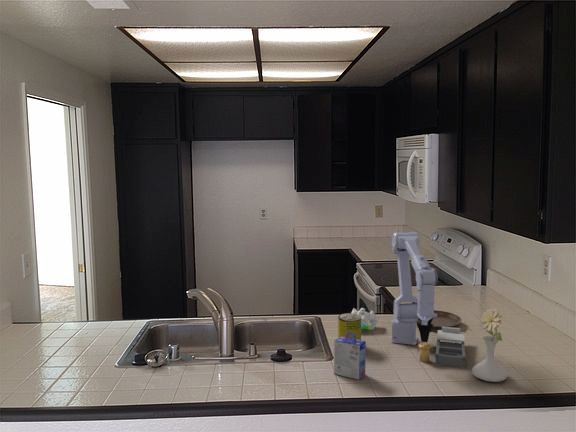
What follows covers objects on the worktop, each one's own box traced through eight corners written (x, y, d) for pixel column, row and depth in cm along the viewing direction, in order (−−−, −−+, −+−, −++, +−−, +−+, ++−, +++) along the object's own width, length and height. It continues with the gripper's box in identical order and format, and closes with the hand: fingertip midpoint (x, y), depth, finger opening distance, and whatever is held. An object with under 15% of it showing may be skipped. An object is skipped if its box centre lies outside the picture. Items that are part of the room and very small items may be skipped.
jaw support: (343, 324, 219) (348, 305, 224) (347, 334, 225) (352, 315, 231) (371, 328, 214) (375, 308, 220) (374, 338, 221) (378, 318, 226)
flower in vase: (467, 370, 180) (469, 301, 177) (499, 370, 180) (503, 301, 177) (479, 387, 167) (482, 313, 164) (515, 387, 167) (518, 313, 164)
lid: (437, 339, 199) (437, 334, 199) (437, 331, 208) (438, 326, 208) (464, 342, 196) (464, 336, 196) (463, 333, 205) (464, 328, 205)
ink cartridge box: (366, 374, 178) (366, 334, 176) (359, 380, 173) (360, 339, 172) (340, 368, 183) (340, 329, 181) (333, 374, 179) (333, 334, 177)
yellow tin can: (365, 345, 204) (365, 316, 202) (352, 352, 197) (352, 322, 196) (347, 340, 210) (347, 311, 208) (333, 346, 203) (333, 317, 202)
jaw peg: (417, 362, 188) (418, 346, 187) (418, 357, 192) (419, 342, 191) (430, 363, 186) (430, 347, 185) (430, 359, 190) (431, 343, 190)
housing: (435, 364, 186) (435, 354, 185) (437, 345, 203) (437, 337, 202) (464, 367, 183) (465, 358, 182) (463, 348, 200) (464, 339, 199)
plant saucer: (460, 335, 215) (460, 327, 214) (410, 329, 222) (410, 322, 221) (461, 319, 234) (462, 312, 233) (415, 315, 241) (415, 308, 240)
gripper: (436, 308, 178) (435, 346, 180) (438, 297, 192) (437, 332, 193) (415, 307, 180) (414, 344, 182) (418, 295, 194) (417, 330, 196)
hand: (425, 337), depth 188 cm, fingers open, 7 cm apart
